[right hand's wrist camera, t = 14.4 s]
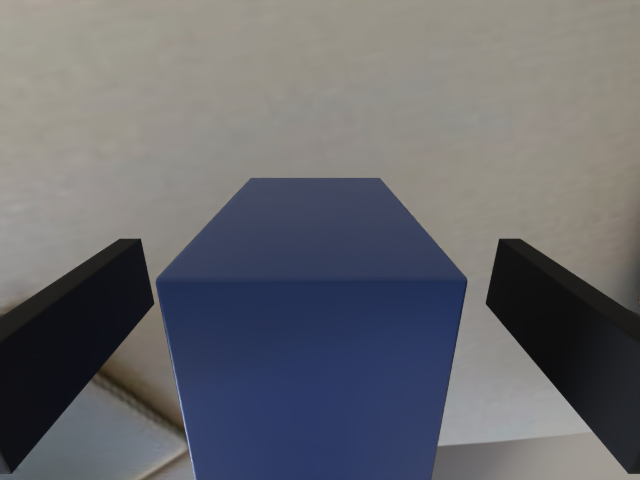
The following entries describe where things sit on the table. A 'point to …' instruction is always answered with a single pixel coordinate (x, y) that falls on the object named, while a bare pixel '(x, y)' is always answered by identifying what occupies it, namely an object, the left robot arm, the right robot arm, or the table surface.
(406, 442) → the bar
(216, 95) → the table surface
